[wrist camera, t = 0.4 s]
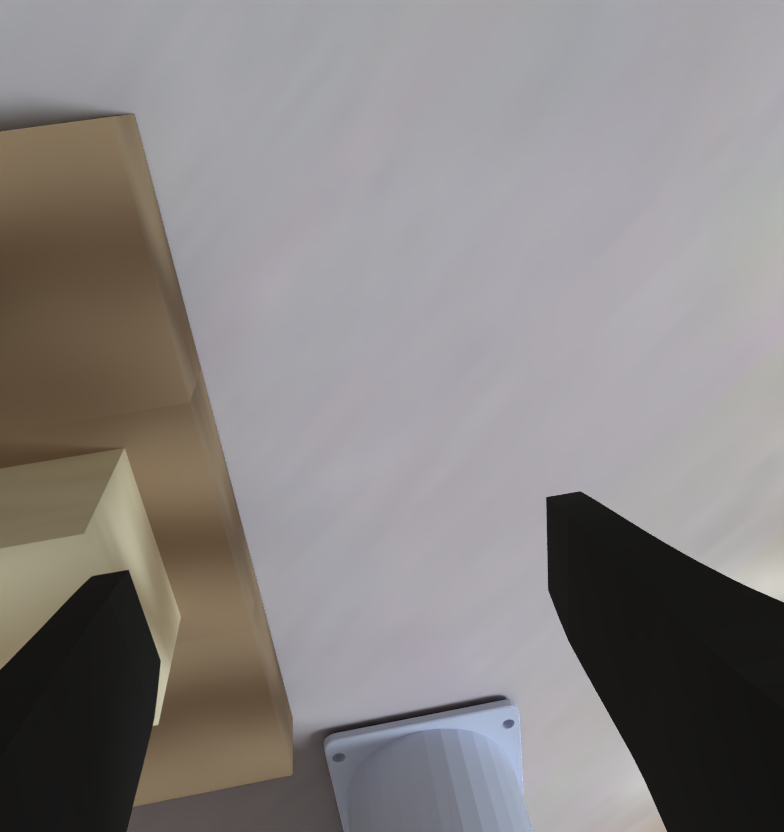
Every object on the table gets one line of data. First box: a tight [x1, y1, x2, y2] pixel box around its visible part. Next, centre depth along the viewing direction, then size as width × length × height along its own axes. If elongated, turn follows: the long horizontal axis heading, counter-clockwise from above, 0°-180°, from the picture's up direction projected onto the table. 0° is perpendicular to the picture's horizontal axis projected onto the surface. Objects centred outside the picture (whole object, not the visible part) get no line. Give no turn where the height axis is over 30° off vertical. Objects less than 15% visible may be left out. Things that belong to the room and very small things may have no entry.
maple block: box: [0, 448, 181, 726], centre depth 18 cm, size 6×6×4 cm
